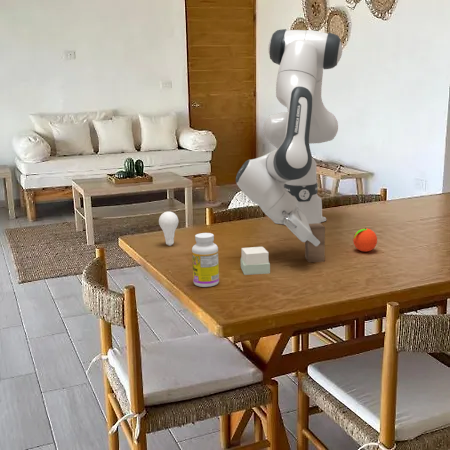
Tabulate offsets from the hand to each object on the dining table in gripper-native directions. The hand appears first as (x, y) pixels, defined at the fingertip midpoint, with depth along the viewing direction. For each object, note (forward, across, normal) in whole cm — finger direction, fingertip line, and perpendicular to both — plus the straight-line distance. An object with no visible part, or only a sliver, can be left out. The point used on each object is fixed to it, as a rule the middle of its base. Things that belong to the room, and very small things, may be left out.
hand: (317, 241), depth 168 cm
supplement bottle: (-18, -19, +25) cm, 36 cm away
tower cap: (-11, -9, +14) cm, 20 cm away
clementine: (+14, +7, -6) cm, 17 cm away
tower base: (-8, -9, +17) cm, 21 cm away
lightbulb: (-28, +17, +35) cm, 48 cm away
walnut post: (+3, 0, +4) cm, 5 cm away
